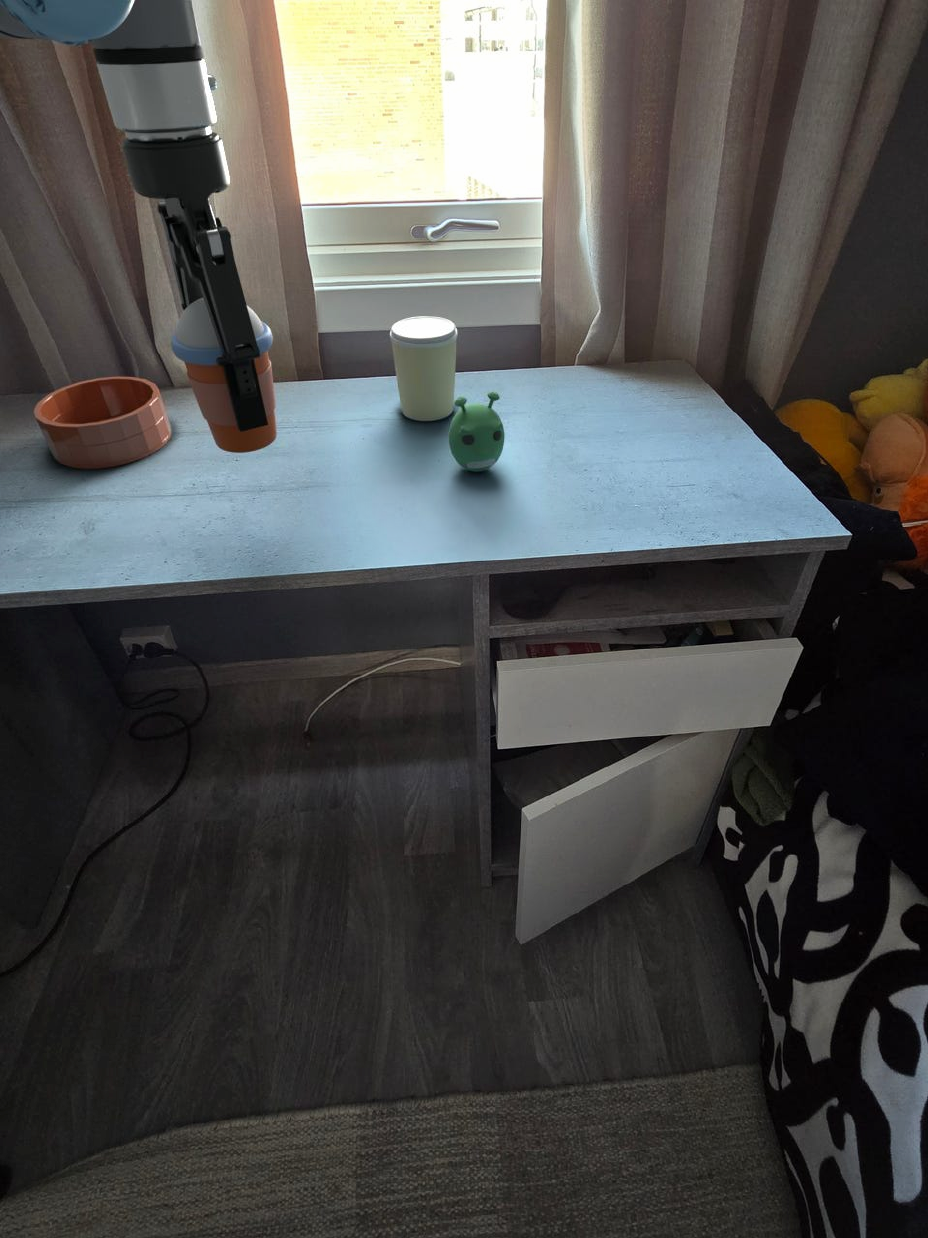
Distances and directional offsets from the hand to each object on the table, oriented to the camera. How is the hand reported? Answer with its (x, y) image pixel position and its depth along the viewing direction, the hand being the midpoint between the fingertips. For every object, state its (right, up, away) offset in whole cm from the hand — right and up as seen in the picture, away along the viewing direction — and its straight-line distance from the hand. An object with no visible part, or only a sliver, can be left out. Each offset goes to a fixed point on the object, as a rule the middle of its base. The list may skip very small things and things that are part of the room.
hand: (237, 407), depth 68 cm
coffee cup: (+17, +10, +34) cm, 40 cm away
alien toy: (+24, -2, +21) cm, 32 cm away
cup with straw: (0, -3, +2) cm, 4 cm away
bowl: (-27, +4, +28) cm, 39 cm away
